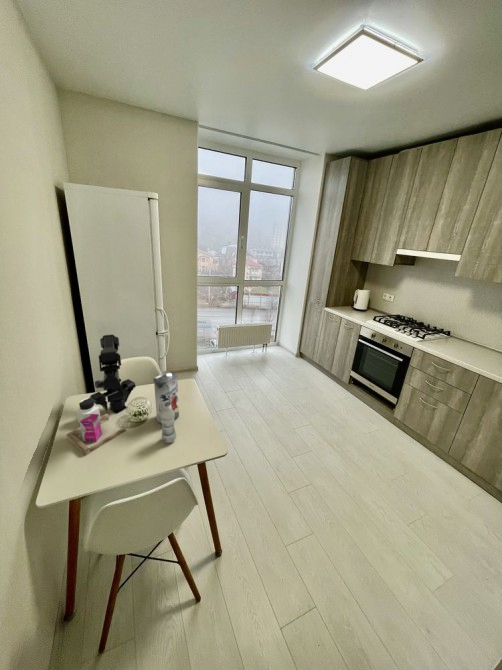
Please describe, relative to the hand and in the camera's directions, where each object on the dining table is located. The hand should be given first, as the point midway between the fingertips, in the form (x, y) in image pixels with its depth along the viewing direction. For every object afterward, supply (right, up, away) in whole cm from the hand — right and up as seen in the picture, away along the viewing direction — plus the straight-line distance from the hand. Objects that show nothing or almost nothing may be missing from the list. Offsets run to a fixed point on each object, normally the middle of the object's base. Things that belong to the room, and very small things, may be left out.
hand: (116, 406), depth 124 cm
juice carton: (+20, -10, +13) cm, 27 cm away
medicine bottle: (-18, -10, +9) cm, 22 cm away
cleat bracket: (-8, -13, 0) cm, 16 cm away
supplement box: (-10, -14, -2) cm, 17 cm away
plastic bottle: (+25, -16, 0) cm, 30 cm away
